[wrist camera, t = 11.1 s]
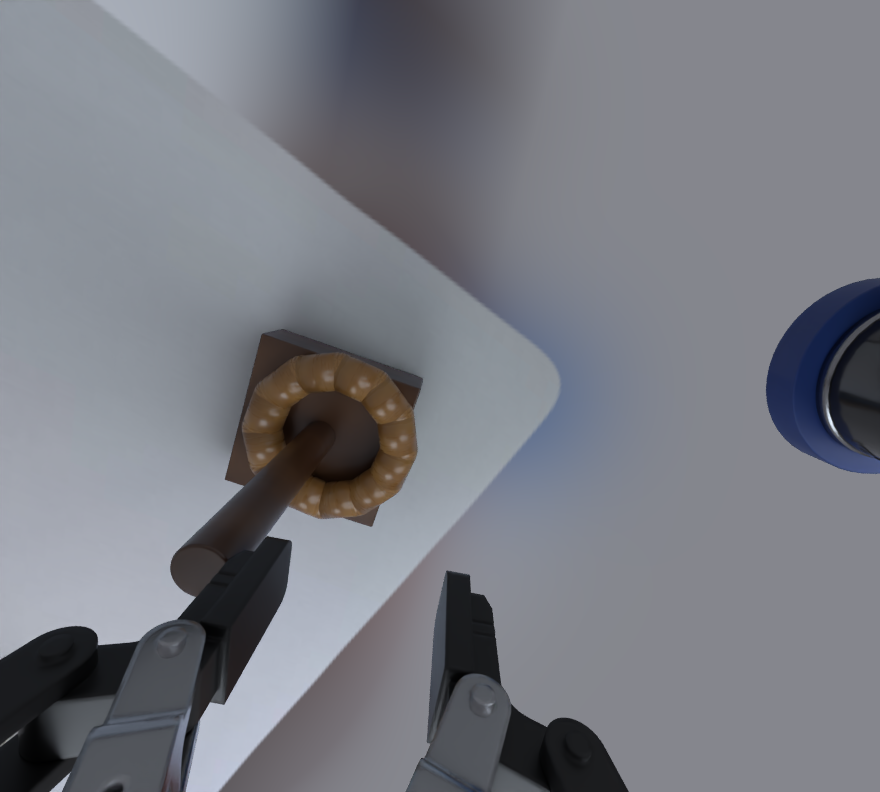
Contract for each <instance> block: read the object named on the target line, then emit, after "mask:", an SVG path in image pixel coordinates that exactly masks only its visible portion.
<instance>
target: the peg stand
mask: <svg viewBox="0 0 880 792" xmlns="http://www.w3.org/2000/svg"><path fill="white" fill-rule="evenodd" d="M333 352H342V353H346V354H348V355H350V356H353V357H355V358H357V359H359V360H361V361H364V362H366V363H368V364H370V365H372V366H375V367H377V368H379V369H381V370H383V371H385V372H386V373H387V374H388V375H389V377H390V378H391V379H392V381H393V382H394V383H395V385H396V386H397V387H398V389H399V390H400V391H401V393H402V394H403V395H404V397H405V398H406V400H407V401H408V402H409V404H410V405H411V406H412V409H413V410H414V407H415V404H416V402H417V399H418V396H419V393H420V390H421V386H422V382H423V378H420V377H417V376H415V375H412V374H409V373H406V372H403V371H400V370H398V369H395V368H392V367H389V366H386V365H383V364H381V363H378V362H375V361H372V360H369V359H366V358H363V357H361V356H358V355H355V354H352V353H349V352H346V351H344V350H341V349H338V348H335V347H332V346H329V345H327V344H324V343H321V342H318V341H315V340H312V339H309V338H307V337H304V336H301V335H298V334H295V333H292V332H290V331H287V330H284V329H281V330H277V331H272V332H268V333H264V334H262V335H261V339H260V343H259V347H258V351H257V355H256V359H255V363H254V367H253V371H252V375H251V379H250V383H249V386H248V390H247V394H246V398H245V402H244V406H243V410H242V414H241V418H240V422H239V426H238V430H237V434H236V438H235V442H234V445H233V449H232V453H231V457H230V461H229V465H228V469H227V473H226V477H225V480H228V481H231V482H234V483H237V484H240V485H243V486H244V487H243V488H242V489H241V490H240V491H239V492H238V493H237V494H236V495H235V496H234V497H233V498H232V499H231V500H230V501H228V502H227V503H226V504H225V505H224V506H223V507H222V508H221V509H220V510H219V511H218V512H217V513H216V514H215V515H214V516H213V517H212V518H211V519H210V520H209V521H208V522H207V523H206V524H205V525H204V526H203V527H202V528H201V529H200V530H198V531H197V532H196V533H195V534H194V535H193V536H192V537H191V538H190V539H189V540H188V541H187V542H186V543H185V544H184V545H183V546H182V547H181V548H180V549H179V550H178V551H177V552H176V553H175V554H174V556H173V558H172V561H171V566H170V570H171V575H172V578H173V580H174V581H175V583H176V584H177V586H178V587H179V588H180V589H182V590H183V591H184V592H186V593H187V594H189V595H192V596H195V597H197V596H198V595H199V593H200V592H201V591H202V590H203V589H204V588H205V586H206V585H207V584H208V583H210V581H211V579H212V578H213V577H214V576H215V575H216V573H218V572H219V570H220V569H221V568H222V566H223V565H224V564H225V563H226V562H227V561H228V559H230V558H231V557H233V556H235V555H236V554H238V553H240V552H242V551H243V550H249V551H255V550H256V549H257V548H258V546H259V545H260V544H261V542H262V541H263V540H264V538H265V537H266V536H267V534H268V533H269V531H270V530H271V529H272V527H273V526H274V525H275V523H276V522H277V521H278V519H279V518H280V516H281V515H282V514H283V512H284V511H285V510H286V508H287V507H288V506H289V504H290V503H291V501H292V500H293V499H294V497H295V496H296V495H297V493H298V492H299V491H300V489H301V488H302V486H303V485H304V484H305V482H306V481H307V480H308V478H309V477H310V476H311V475H312V476H315V477H317V478H319V479H322V480H324V481H327V482H333V481H346V480H353V479H354V478H356V477H357V476H359V475H360V474H362V473H363V472H365V471H366V470H368V469H369V468H371V466H372V464H373V462H374V460H375V457H376V455H377V453H378V451H379V449H380V442H379V435H378V427H377V423H376V421H375V420H374V419H373V418H372V416H371V415H370V414H369V412H368V411H367V410H366V408H365V407H364V406H363V404H362V403H361V402H359V401H357V400H355V399H352V398H350V397H348V396H346V395H343V394H341V393H339V392H337V391H331V392H319V393H310V394H308V395H307V396H306V397H304V398H303V399H301V400H300V401H299V402H297V403H296V404H294V405H293V406H292V407H291V408H290V411H289V413H288V416H287V418H286V421H285V423H284V426H283V433H284V438H285V443H286V446H285V447H284V448H283V449H282V450H281V451H280V452H279V453H278V454H277V455H276V456H275V457H274V458H273V459H272V460H271V461H270V462H269V463H268V464H267V465H266V466H265V467H264V468H263V469H262V470H261V471H260V472H259V473H257V474H256V475H255V474H254V473H253V472H252V471H251V469H250V466H249V462H248V457H247V452H246V448H245V443H244V438H243V433H242V422H243V419H244V417H245V414H246V411H247V408H248V406H249V403H250V400H251V398H252V395H253V392H254V389H255V387H256V385H257V384H258V383H259V382H260V381H261V380H262V379H264V378H265V377H266V376H268V375H269V374H271V373H272V372H273V371H275V370H276V369H277V368H279V367H280V366H281V365H283V364H284V363H285V362H287V361H288V360H289V359H291V358H293V357H295V356H300V355H311V354H322V353H333ZM379 506H380V505H379ZM379 506H377V507H376V508H374V509H373V510H371V511H370V512H368V513H367V514H365V515H362V516H356V517H343V518H345V519H348V520H352V521H355V522H358V523H361V524H364V525H367V526H370V527H372V525H373V522H374V520H375V517H376V514H377V511H378V508H379Z"/></svg>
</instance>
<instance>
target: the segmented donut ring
mask: <svg viewBox="0 0 880 792" xmlns="http://www.w3.org/2000/svg"><path fill="white" fill-rule="evenodd" d="M331 391H337V392H339V393H341V394H343V395H346V396H348V397H350V398H352V399H355V400H357V401H359V402H361V403H362V404H363V406H364V407H365V408H366V410H367V411H368V412H369V414H370V415H371V416H372V418H373V419H374V420H375V421H376V423H377V427H378V435H379V442H380V449H379V451H378V453H377V455H376V457H375V460H374V462H373V464H372V466H371V468H369V469H368V470H366V471H365V472H363V473H362V474H360V475H359V476H357V477H356V478H354V479H353V480H346V481H333V482H327V481H324V480H322V479H319V478H317V477H315V476H312V475H311V476H310V477H309V478H308V480H307V481H306V482H305V484H304V485H303V486H302V488H301V489H300V491H299V492H298V493H297V495H296V496H295V497H294V499H293V500H292V501H291V503H290V504H289V507H291V508H293V509H296V510H298V511H301V512H303V513H305V514H308V515H310V516H313V517H315V518H318V519H329V518H343V517H356V516H362V515H365V514H367V513H368V512H370V511H371V510H373V509H374V508H376V507H377V506H379V505H380V504H382V503H384V502H385V501H387V500H388V499H390V498H391V497H393V496H394V495H396V494H397V493H398V492H399V491H400V489H401V488H402V485H403V483H404V481H405V479H406V477H407V475H408V473H409V471H410V469H411V467H412V465H413V463H414V461H415V459H416V456H417V452H418V447H417V438H416V428H415V419H414V412H413V409H412V406H411V405H410V404H409V402H408V401H407V400H406V398H405V397H404V395H403V394H402V393H401V391H400V390H399V389H398V387H397V386H396V385H395V383H394V382H393V381H392V379H391V378H390V377H389V375H388V374H387V373H386V372H385V371H383V370H381V369H379V368H377V367H375V366H372V365H370V364H368V363H366V362H364V361H361V360H359V359H357V358H355V357H353V356H350V355H348V354H346V353H342V352H333V353H322V354H311V355H300V356H295V357H293V358H291V359H289V360H288V361H287V362H285V363H284V364H283V365H281V366H280V367H279V368H277V369H276V370H275V371H273V372H272V373H271V374H269V375H268V376H266V377H265V378H264V379H262V380H261V381H260V382H259V383H258V384H257V385H256V387H255V389H254V392H253V395H252V398H251V400H250V403H249V406H248V408H247V411H246V414H245V417H244V419H243V422H242V433H243V438H244V443H245V448H246V452H247V457H248V462H249V466H250V469H251V471H252V472H253V473H254V474H255V475H256V474H257V473H259V472H260V471H261V470H262V469H263V468H264V467H265V466H266V465H267V464H268V463H269V462H270V461H271V460H272V459H273V458H274V457H275V456H276V455H277V454H278V453H279V452H280V451H281V450H282V449H283V448H284V447H285V446H286V443H285V438H284V433H283V426H284V423H285V421H286V418H287V416H288V413H289V411H290V408H291V407H292V406H293V405H294V404H296V403H297V402H299V401H300V400H301V399H303V398H304V397H306V396H307V395H308V394H310V393H319V392H331Z"/></svg>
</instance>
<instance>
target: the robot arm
mask: <svg viewBox="0 0 880 792" xmlns="http://www.w3.org/2000/svg"><path fill="white" fill-rule="evenodd" d="M816 408H817V413H818V416H819V419H820V421H821V423H822V425H823V427H824V429H825V430H826V432H827V433H828V434H829V435H830V437H831V438H832V439H834V440H835V441H836V442H837V443H838V444H840V445H841V446H843V447H845V448H847V449H849V450H851V451H854V452H856V453H859V454H861V455H864V456H867V457H870V458H875V459H877V460H879V461H880V309H878V310H876V311H874V312H872V313H870V314H868V315H866V316H865V317H863V318H862V319H860V320H859V321H857V322H856V323H855V324H854V325H853V326H851V327H850V328H849V329H848V330H847V331H846V332H845V333H844V334H843V335H842V336H841V337H840V338H839V339H838V340H837V342H836V343H835V344H834V346H833V347H832V349H831V350H830V352H829V353H828V355H827V357H826V359H825V361H824V363H823V365H822V367H821V370H820V373H819V376H818V380H817V385H816ZM291 549H292V542H291V541H290V540H285V539H279V538H274V537H269V536H267V537H266V538H265V539H264V540H263V541H262V542H261V544H260V545H259V546H258V548H257V549H256V550H255V551H249V550H243V551H242V552H240V553H238V554H236V555H235V556H233V557H231V558H230V559H228V561H227V562H226V563H225V564H224V565H223V566H222V568H221V569H220V570H219V572H218V573H216V575H215V576H214V577H213V578H212V579H211V581H210V583H208V584H207V585H206V586H205V588H204V589H203V590H202V591H201V592H200V593H199V595H198V596H197V597H196V598H195V599H194V600H193V602H192V603H191V604H190V605H189V606H188V607H187V609H186V610H185V611H184V612H183V613H182V614H181V616H180V617H179V618H178V619H177V620H173V621H169V622H166V623H163V624H161V625H158V626H156V627H155V628H153V629H151V630H150V631H149V632H147V633H146V634H145V635H144V636H143V637H142V638H141V640H140V641H137V642H131V643H120V644H108V645H98V637H97V634H96V633H95V632H94V631H93V630H91V629H90V628H87V627H82V626H71V627H64V628H60V629H56V630H53V631H50V632H47V633H45V634H43V635H41V636H39V637H37V638H35V639H33V640H32V641H30V642H29V643H27V644H25V645H24V646H22V647H20V648H19V649H17V650H16V651H14V652H12V653H11V654H9V655H8V656H6V657H4V658H3V659H1V660H0V745H1V744H2V743H3V742H5V741H6V740H7V739H9V738H10V737H11V736H12V735H14V734H15V733H16V732H18V734H16V735H15V736H14V737H13V738H11V739H10V740H9V741H7V742H6V743H5V744H3V745H2V746H1V747H0V792H49V791H51V790H52V789H53V788H54V787H55V786H56V785H57V784H58V783H59V782H60V781H61V780H62V779H63V778H64V777H66V776H67V775H68V774H69V773H70V772H71V773H70V775H69V777H68V780H67V782H66V784H65V786H64V788H63V791H62V792H185V791H186V787H187V782H188V777H189V773H190V768H191V764H192V759H193V754H194V750H195V745H196V741H197V736H198V732H199V726H200V718H201V716H202V715H203V713H204V711H205V710H206V708H207V706H208V705H209V703H210V702H212V703H218V704H223V705H224V704H225V702H226V700H227V699H228V697H229V695H230V693H231V692H232V690H233V688H234V686H235V684H236V683H237V681H238V679H239V677H240V676H241V674H242V672H243V670H244V668H245V667H246V665H247V663H248V661H249V660H250V658H251V656H252V654H253V652H254V651H255V649H256V647H257V645H258V644H259V642H260V640H261V638H262V637H263V635H264V633H265V631H266V629H267V628H268V626H269V624H270V622H271V621H272V619H273V617H274V615H275V613H276V612H277V610H278V608H279V606H280V604H281V602H282V600H283V597H284V595H285V591H286V588H287V582H288V574H289V566H290V557H291ZM432 655H433V656H432V670H431V686H430V702H429V719H428V734H427V743H430V747H429V749H428V751H427V754H426V756H425V758H421V759H420V761H419V763H418V765H417V767H416V769H415V772H414V774H413V776H412V778H411V781H410V783H409V785H408V788H407V790H406V792H628V790H627V788H626V786H625V784H624V782H623V780H622V779H621V777H620V775H619V773H618V771H617V769H616V767H615V766H614V764H613V762H612V760H611V758H610V756H609V755H608V753H607V751H606V749H605V747H604V745H603V744H602V742H601V741H600V740H599V738H598V737H597V735H596V734H595V733H594V732H593V731H592V730H590V729H589V728H588V727H587V726H585V725H584V724H582V723H580V722H578V721H576V720H573V719H570V718H557V719H555V720H553V721H552V722H551V723H550V724H549V725H548V727H546V726H544V725H542V724H540V723H538V722H536V721H534V720H532V719H530V718H528V717H526V716H524V715H523V714H522V713H520V712H519V711H518V710H517V709H516V708H515V707H514V706H513V705H512V704H511V702H510V699H509V696H508V694H507V693H506V691H505V690H504V688H503V687H502V686H501V680H500V672H499V663H498V655H497V646H496V638H495V629H494V621H493V613H492V608H491V606H490V604H489V603H488V601H487V599H486V598H485V596H484V595H480V594H475V593H471V588H470V575H467V574H463V573H457V572H452V571H446V574H445V578H444V582H443V587H442V591H441V596H440V600H439V605H438V609H437V614H436V620H435V627H434V638H433V654H432Z"/></svg>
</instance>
